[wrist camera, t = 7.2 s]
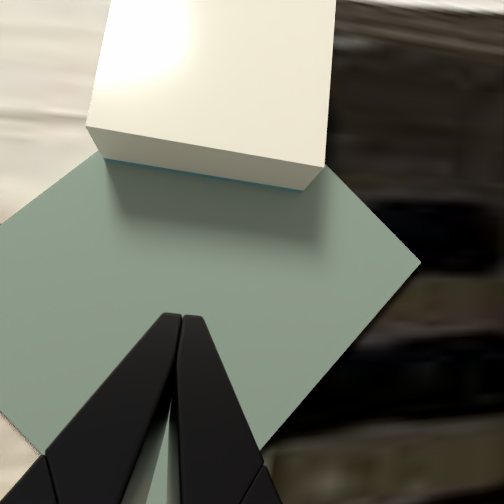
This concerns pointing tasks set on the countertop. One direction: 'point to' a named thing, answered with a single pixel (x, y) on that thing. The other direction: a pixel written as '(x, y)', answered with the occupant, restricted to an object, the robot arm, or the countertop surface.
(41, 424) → the mat
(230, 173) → the white box
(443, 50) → the countertop surface
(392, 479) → the countertop surface
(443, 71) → the countertop surface
